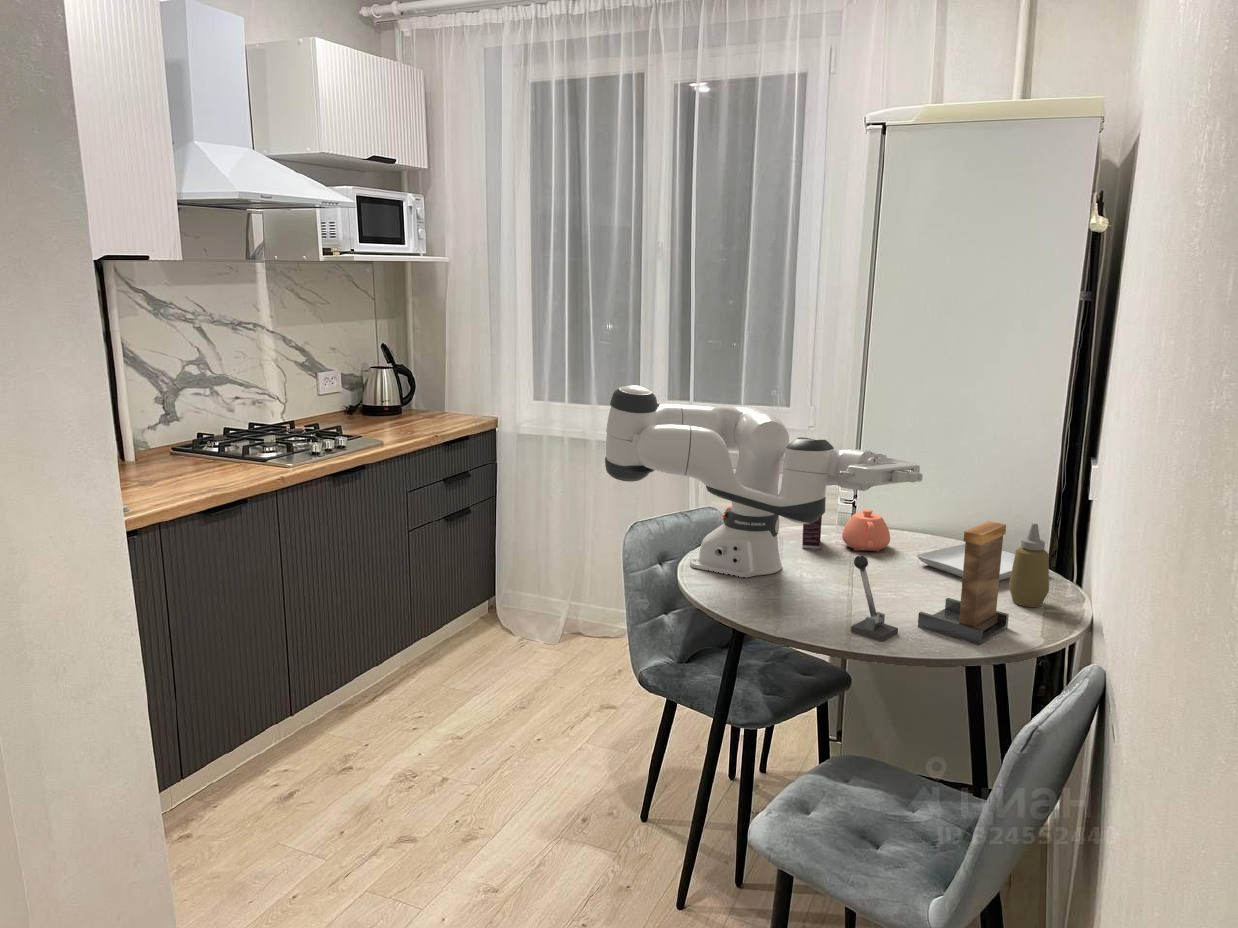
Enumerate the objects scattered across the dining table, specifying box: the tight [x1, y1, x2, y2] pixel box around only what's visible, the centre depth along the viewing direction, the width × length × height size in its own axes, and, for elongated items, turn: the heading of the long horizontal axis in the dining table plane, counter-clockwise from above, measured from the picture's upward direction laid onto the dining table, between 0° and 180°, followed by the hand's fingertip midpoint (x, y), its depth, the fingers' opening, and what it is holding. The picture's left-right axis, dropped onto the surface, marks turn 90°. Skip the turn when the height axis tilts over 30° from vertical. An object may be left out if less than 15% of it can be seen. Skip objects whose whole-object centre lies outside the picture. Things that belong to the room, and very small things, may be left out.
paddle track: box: [917, 597, 1010, 646], centre depth 181 cm, size 13×13×3 cm
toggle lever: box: [853, 554, 883, 627], centre depth 178 cm, size 3×3×14 cm
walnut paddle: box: [959, 520, 1007, 631], centre depth 177 cm, size 4×11×21 cm, turn 133°
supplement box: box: [801, 515, 823, 550], centre depth 236 cm, size 9×5×16 cm, turn 168°
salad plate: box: [916, 543, 1015, 581], centre depth 217 cm, size 21×21×3 cm
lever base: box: [850, 611, 899, 643], centre depth 178 cm, size 7×6×4 cm
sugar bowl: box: [841, 508, 891, 552], centre depth 233 cm, size 12×14×10 cm
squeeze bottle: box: [1008, 523, 1050, 608], centre depth 193 cm, size 8×8×18 cm
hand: (919, 478), depth 184 cm, fingers closed
